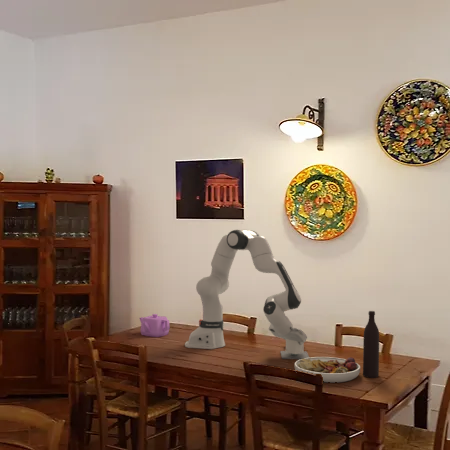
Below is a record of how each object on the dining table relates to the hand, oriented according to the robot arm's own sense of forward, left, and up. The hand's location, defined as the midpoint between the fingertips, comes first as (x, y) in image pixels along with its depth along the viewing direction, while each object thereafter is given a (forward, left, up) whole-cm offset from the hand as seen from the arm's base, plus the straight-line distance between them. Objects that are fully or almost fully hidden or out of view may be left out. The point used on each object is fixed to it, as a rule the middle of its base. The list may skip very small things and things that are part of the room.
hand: (295, 342), depth 317 cm
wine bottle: (+32, -36, -7) cm, 49 cm away
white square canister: (0, 0, -5) cm, 5 cm away
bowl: (+12, -35, -7) cm, 38 cm away
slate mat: (0, 0, -7) cm, 7 cm away
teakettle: (-81, +48, -7) cm, 95 cm away
